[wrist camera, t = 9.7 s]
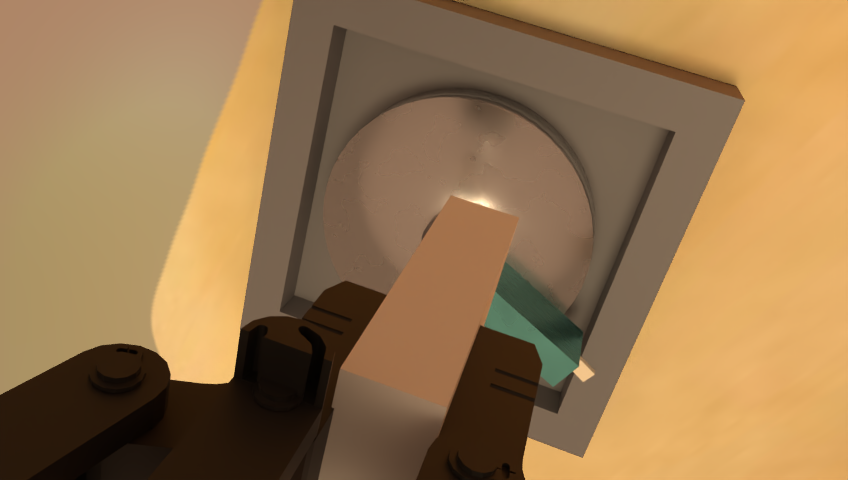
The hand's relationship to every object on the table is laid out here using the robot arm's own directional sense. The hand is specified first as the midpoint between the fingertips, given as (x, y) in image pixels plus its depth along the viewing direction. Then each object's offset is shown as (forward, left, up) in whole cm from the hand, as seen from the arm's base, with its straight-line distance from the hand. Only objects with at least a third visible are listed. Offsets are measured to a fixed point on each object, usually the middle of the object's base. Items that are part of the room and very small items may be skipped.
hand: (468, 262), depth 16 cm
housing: (+11, -3, -29) cm, 31 cm away
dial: (+12, -2, -27) cm, 30 cm away
